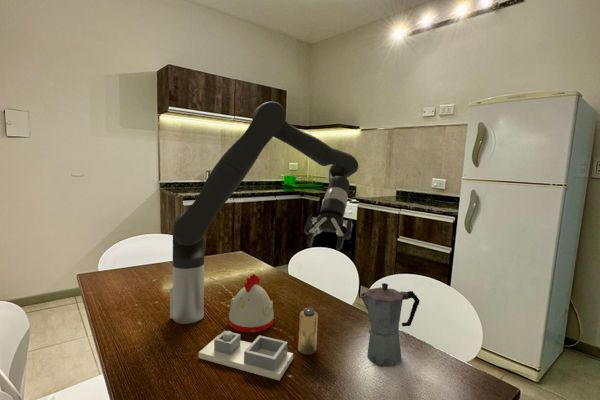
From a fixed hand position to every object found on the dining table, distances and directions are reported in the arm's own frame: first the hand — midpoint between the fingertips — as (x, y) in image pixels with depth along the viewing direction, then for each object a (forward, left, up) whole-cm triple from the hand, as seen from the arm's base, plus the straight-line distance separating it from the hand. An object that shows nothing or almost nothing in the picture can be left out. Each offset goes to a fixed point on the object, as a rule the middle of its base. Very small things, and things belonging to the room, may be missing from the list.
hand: (323, 247), depth 96 cm
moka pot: (+20, -7, -26) cm, 33 cm away
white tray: (-13, -22, -25) cm, 36 cm away
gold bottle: (0, -12, -25) cm, 28 cm away
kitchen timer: (-21, -4, -26) cm, 33 cm away
